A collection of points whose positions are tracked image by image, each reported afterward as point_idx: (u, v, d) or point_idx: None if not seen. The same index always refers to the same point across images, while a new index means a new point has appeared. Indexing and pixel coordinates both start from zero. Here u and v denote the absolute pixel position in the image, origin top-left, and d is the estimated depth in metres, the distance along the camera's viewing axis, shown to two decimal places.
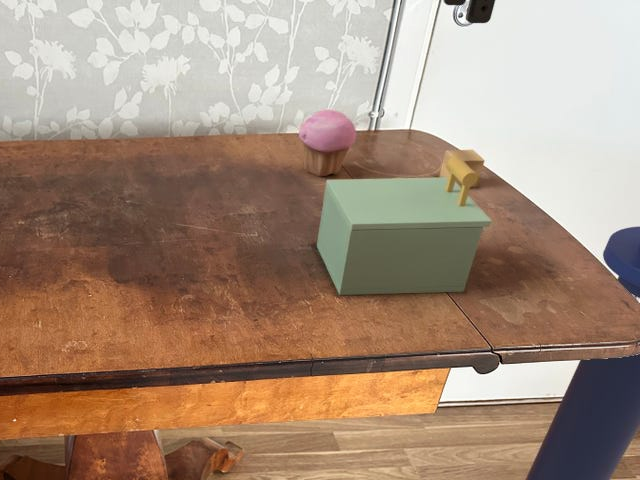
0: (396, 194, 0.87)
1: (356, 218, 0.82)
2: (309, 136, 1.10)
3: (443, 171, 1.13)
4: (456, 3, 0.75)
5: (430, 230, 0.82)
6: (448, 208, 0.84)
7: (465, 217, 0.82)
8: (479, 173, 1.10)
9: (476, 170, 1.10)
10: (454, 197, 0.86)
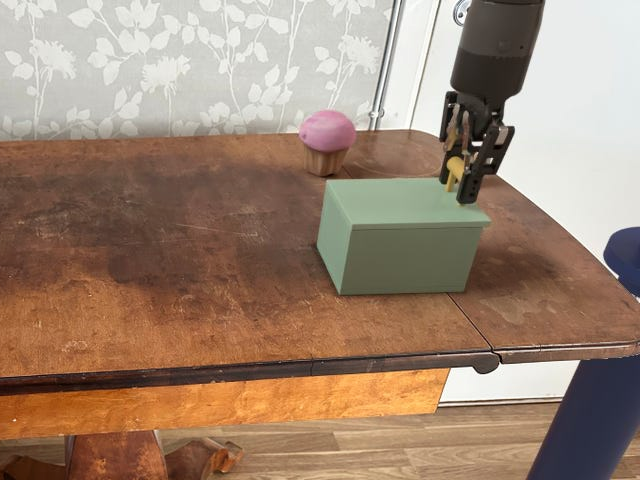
0: (396, 194, 0.87)
1: (356, 218, 0.82)
2: (309, 136, 1.10)
3: None
4: None
5: (430, 230, 0.82)
6: (448, 208, 0.84)
7: (465, 217, 0.82)
8: None
9: None
10: (454, 197, 0.86)
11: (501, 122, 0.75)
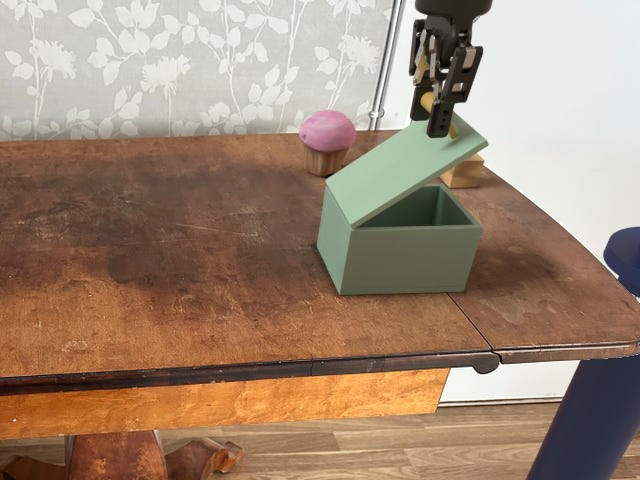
0: (389, 161, 0.84)
1: (353, 215, 0.82)
2: (309, 136, 1.10)
3: None
4: (421, 119, 0.83)
5: (430, 230, 0.82)
6: (441, 148, 0.79)
7: (459, 151, 0.77)
8: (479, 173, 1.10)
9: (476, 170, 1.10)
10: None
11: (469, 43, 0.70)
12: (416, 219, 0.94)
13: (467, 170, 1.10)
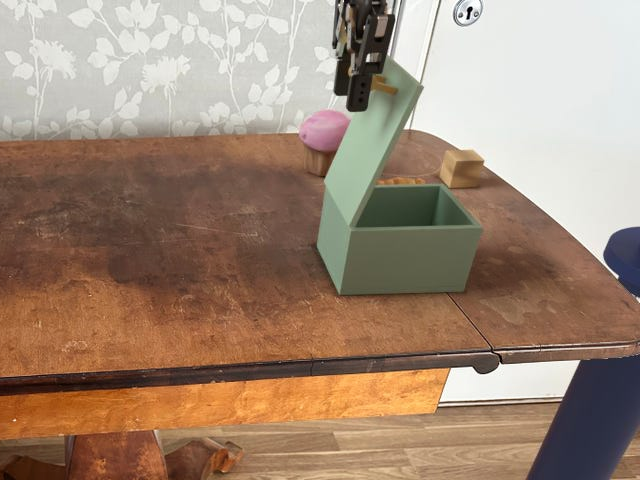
0: (359, 140, 0.83)
1: (348, 214, 0.81)
2: (309, 136, 1.10)
3: (443, 171, 1.13)
4: (345, 94, 0.80)
5: (430, 230, 0.82)
6: (390, 110, 0.76)
7: (402, 108, 0.74)
8: (479, 173, 1.10)
9: (476, 170, 1.10)
10: (389, 85, 0.78)
11: (381, 11, 0.68)
12: (416, 219, 0.94)
13: (467, 170, 1.10)
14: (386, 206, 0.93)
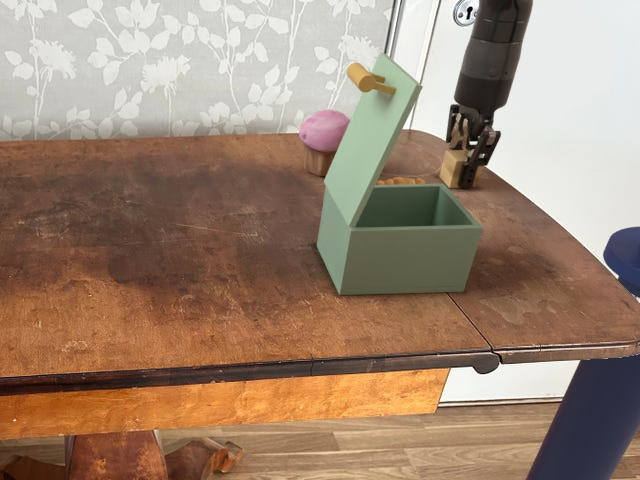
0: (358, 140, 0.83)
1: (348, 214, 0.81)
2: (309, 136, 1.10)
3: (443, 171, 1.13)
4: None
5: (430, 230, 0.82)
6: (389, 110, 0.76)
7: (400, 108, 0.74)
8: (479, 173, 1.10)
9: None
10: (388, 84, 0.78)
11: (491, 128, 1.03)
12: (416, 219, 0.94)
13: None
14: (386, 206, 0.93)
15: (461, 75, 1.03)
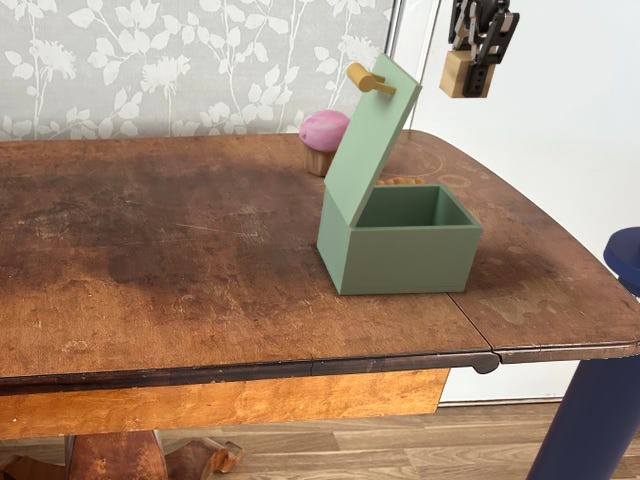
0: (358, 140, 0.83)
1: (348, 214, 0.81)
2: (309, 136, 1.10)
3: (444, 79, 0.89)
4: None
5: (430, 230, 0.82)
6: (389, 110, 0.76)
7: (400, 108, 0.74)
8: (490, 78, 0.86)
9: None
10: (388, 84, 0.78)
11: (507, 9, 0.78)
12: (416, 219, 0.94)
13: None
14: (386, 206, 0.93)
15: None
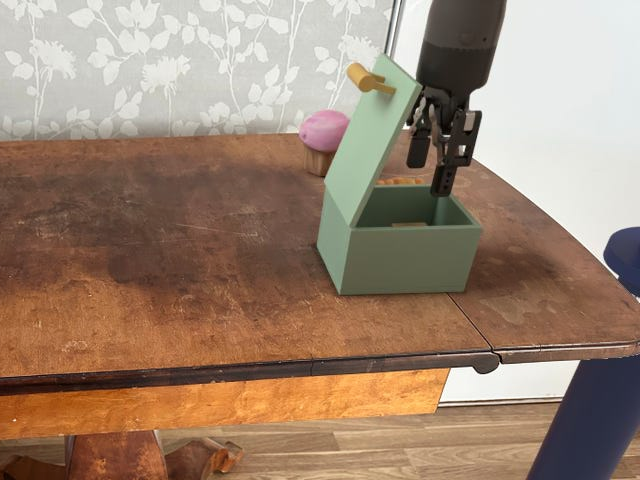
0: (358, 140, 0.83)
1: (348, 214, 0.81)
2: (309, 136, 1.10)
3: None
4: (417, 167, 0.88)
5: (430, 230, 0.82)
6: (389, 110, 0.76)
7: (400, 108, 0.74)
8: None
9: None
10: (388, 84, 0.78)
11: (467, 109, 0.74)
12: (416, 219, 0.94)
13: None
14: (386, 206, 0.93)
15: (424, 44, 0.75)
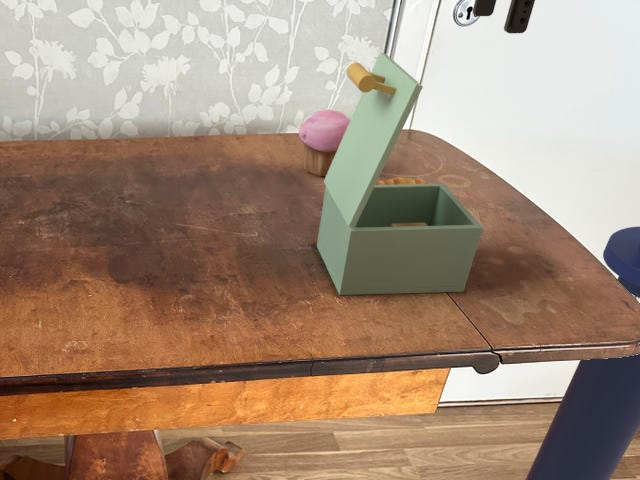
0: (358, 140, 0.83)
1: (348, 214, 0.81)
2: (309, 136, 1.10)
3: None
4: (484, 14, 0.83)
5: (430, 230, 0.82)
6: (389, 110, 0.76)
7: (400, 108, 0.74)
8: None
9: None
10: (388, 84, 0.78)
11: None
12: (416, 219, 0.94)
13: None
14: (386, 206, 0.93)
15: None
